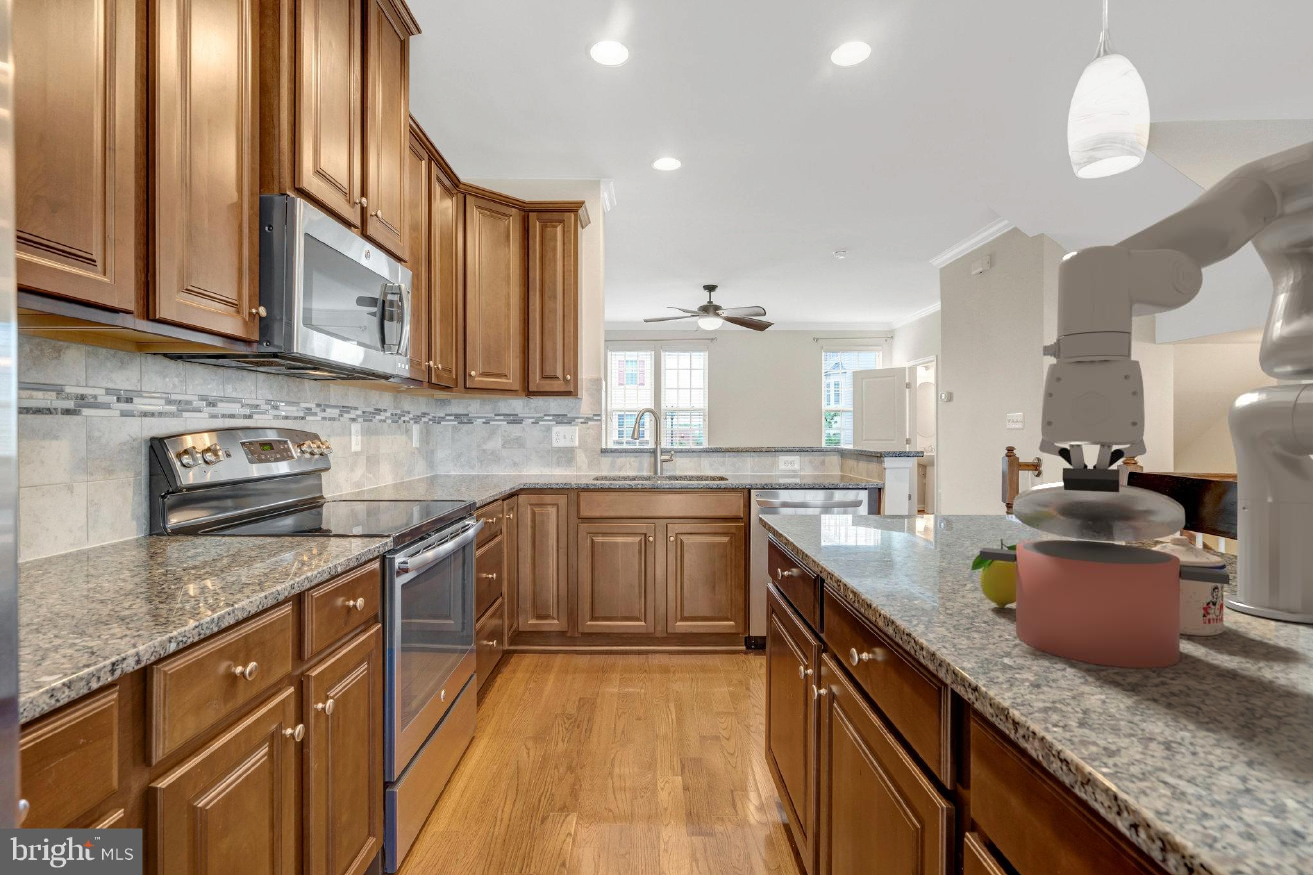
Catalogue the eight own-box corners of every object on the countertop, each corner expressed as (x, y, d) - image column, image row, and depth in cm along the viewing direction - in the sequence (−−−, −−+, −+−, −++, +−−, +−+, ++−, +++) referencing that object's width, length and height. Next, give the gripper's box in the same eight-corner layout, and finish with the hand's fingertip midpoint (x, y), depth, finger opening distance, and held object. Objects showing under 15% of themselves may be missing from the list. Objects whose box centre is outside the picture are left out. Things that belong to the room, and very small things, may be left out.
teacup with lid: (1224, 642, 76) (1224, 545, 76) (1130, 626, 82) (1130, 537, 82) (1228, 620, 85) (1228, 533, 85) (1143, 607, 91) (1143, 526, 91)
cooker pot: (992, 609, 90) (992, 532, 90) (1217, 642, 76) (1217, 550, 76) (970, 641, 77) (970, 550, 76) (1238, 688, 62) (1238, 576, 62)
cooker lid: (1020, 534, 88) (1021, 519, 88) (1179, 547, 78) (1179, 530, 78) (1000, 475, 73) (1001, 458, 73) (1194, 482, 63) (1193, 462, 63)
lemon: (1036, 609, 91) (1036, 539, 91) (1020, 616, 87) (1020, 543, 87) (987, 599, 96) (987, 533, 96) (970, 606, 92) (969, 537, 92)
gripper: (1018, 352, 78) (1015, 500, 78) (1174, 344, 70) (1170, 511, 70) (1025, 359, 84) (1022, 496, 84) (1169, 352, 76) (1166, 506, 76)
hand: (1089, 502), depth 77 cm, fingers closed
